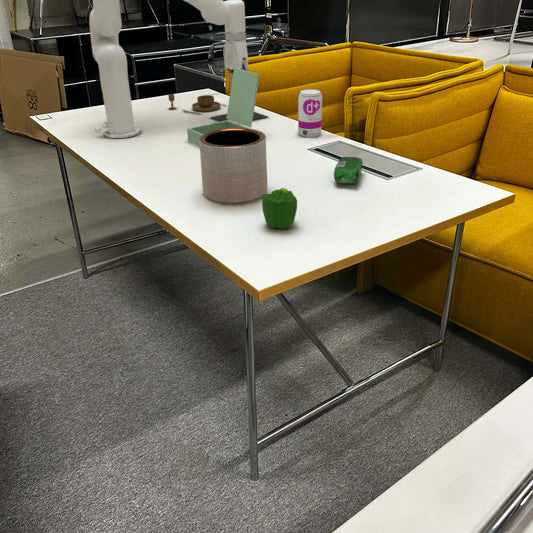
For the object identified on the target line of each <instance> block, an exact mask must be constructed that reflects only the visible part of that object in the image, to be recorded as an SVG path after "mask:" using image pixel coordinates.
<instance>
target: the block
mask: <svg viewBox="0 0 533 533" xmlns="http://www.w3.org/2000/svg"><path fill="white" fill-rule="evenodd" d="M232 78H233V73H230V76H229V86H230V88H229V89H230V90H231V85H232Z"/></svg>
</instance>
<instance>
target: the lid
mask: <svg viewBox="0 0 533 533" xmlns="http://www.w3.org/2000/svg"><path fill="white" fill-rule="evenodd" d="M260 76H261V74H260V73H255V72H251V71H249V72H248V71H244V70H241V69H236V68H234V71H233V78H232V85H231V89H230V92H229V98H228V105H227V112H226V114H227V118H226V119H228V121H231V122H233V123H236V124H239V125H241V126H244V127H247V128H249V129H252V125H253V121H252V120H253V114H254V112H255V108H256V101H257V95H258V89H259V84H260Z"/></svg>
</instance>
